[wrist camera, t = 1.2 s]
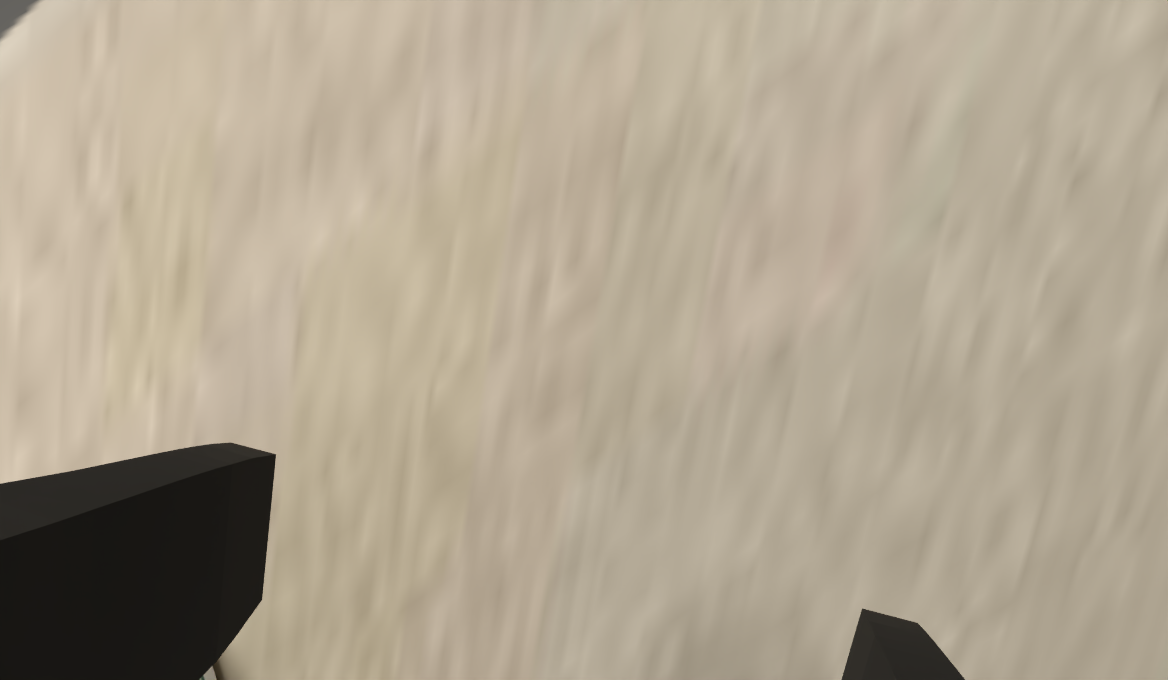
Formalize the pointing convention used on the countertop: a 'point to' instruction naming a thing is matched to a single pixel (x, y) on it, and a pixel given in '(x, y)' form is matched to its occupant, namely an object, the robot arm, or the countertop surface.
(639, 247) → the countertop surface
